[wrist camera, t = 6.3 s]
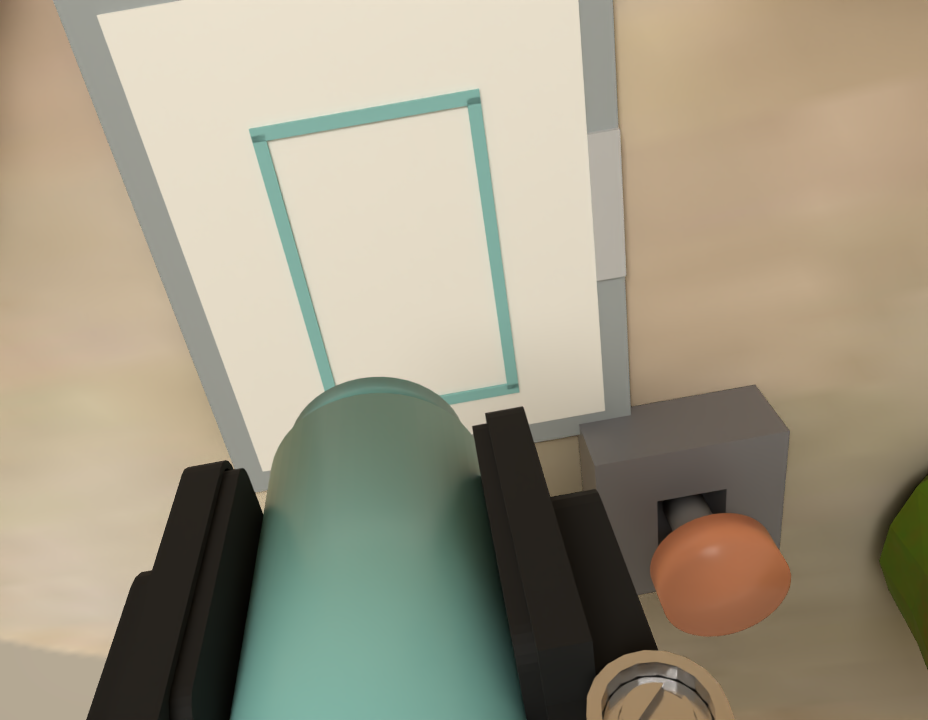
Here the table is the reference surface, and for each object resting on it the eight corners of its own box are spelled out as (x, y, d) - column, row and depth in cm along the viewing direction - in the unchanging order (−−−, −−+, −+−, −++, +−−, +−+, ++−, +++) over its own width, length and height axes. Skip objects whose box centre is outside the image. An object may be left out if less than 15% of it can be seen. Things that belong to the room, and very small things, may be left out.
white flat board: (52, -22, 21) (42, -19, 21) (603, -118, 21) (609, -118, 21) (246, 485, 31) (243, 498, 30) (627, 418, 31) (633, 429, 30)
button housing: (576, 416, 31) (594, 465, 28) (755, 384, 31) (789, 430, 28) (587, 546, 34) (604, 600, 32) (747, 518, 34) (777, 569, 32)
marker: (245, 384, 12) (7, 1359, 4) (466, 344, 12) (653, 1233, 4) (302, 545, 13) (213, 1446, 6) (494, 509, 14) (663, 1355, 6)
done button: (624, 469, 30) (662, 557, 26) (741, 448, 30) (795, 533, 26) (629, 553, 32) (663, 646, 28) (736, 534, 32) (786, 623, 28)
